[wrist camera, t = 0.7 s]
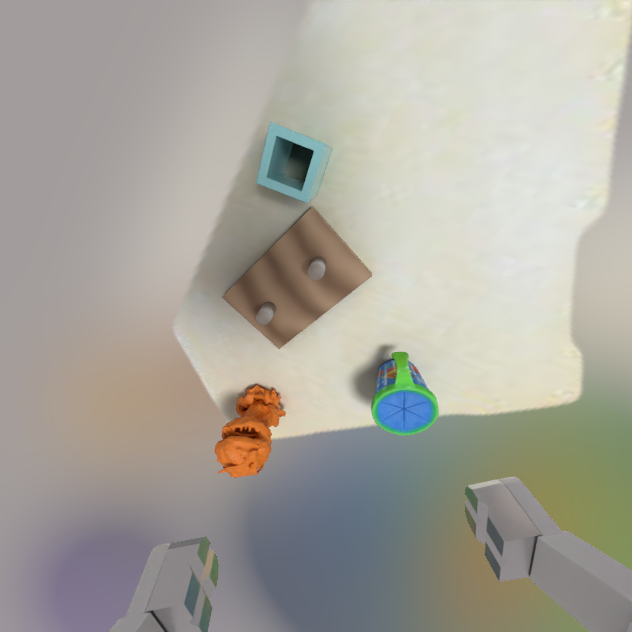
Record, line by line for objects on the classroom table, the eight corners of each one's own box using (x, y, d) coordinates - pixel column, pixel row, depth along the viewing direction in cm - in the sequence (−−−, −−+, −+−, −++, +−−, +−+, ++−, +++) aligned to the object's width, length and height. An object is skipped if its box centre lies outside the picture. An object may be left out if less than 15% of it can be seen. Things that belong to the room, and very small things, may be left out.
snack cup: (420, 406, 60) (431, 448, 51) (367, 402, 61) (368, 443, 52) (432, 340, 53) (447, 376, 44) (371, 337, 54) (375, 372, 45)
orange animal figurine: (266, 369, 61) (234, 443, 45) (298, 404, 64) (279, 485, 48) (228, 391, 65) (186, 465, 49) (260, 423, 68) (231, 502, 52)
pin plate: (312, 206, 45) (307, 211, 40) (371, 272, 49) (373, 285, 44) (225, 293, 54) (212, 306, 49) (280, 344, 57) (273, 361, 52)
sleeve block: (288, 130, 41) (270, 121, 32) (332, 148, 41) (325, 144, 32) (276, 178, 44) (256, 183, 35) (317, 194, 44) (307, 203, 35)
